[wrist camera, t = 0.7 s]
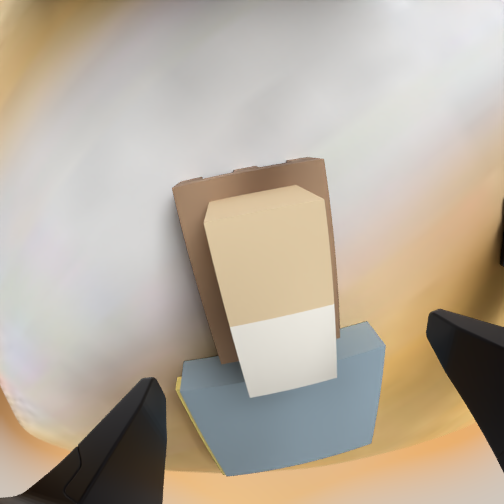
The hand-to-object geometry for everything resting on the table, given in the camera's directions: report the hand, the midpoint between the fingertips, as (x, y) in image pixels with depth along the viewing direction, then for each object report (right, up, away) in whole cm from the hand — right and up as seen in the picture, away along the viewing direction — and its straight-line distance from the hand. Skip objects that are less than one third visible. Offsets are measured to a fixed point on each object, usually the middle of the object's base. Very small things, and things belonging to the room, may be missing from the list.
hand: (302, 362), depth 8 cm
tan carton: (-1, +4, +6) cm, 7 cm away
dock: (+1, -8, +13) cm, 16 cm away
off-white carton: (0, 0, +7) cm, 7 cm away
